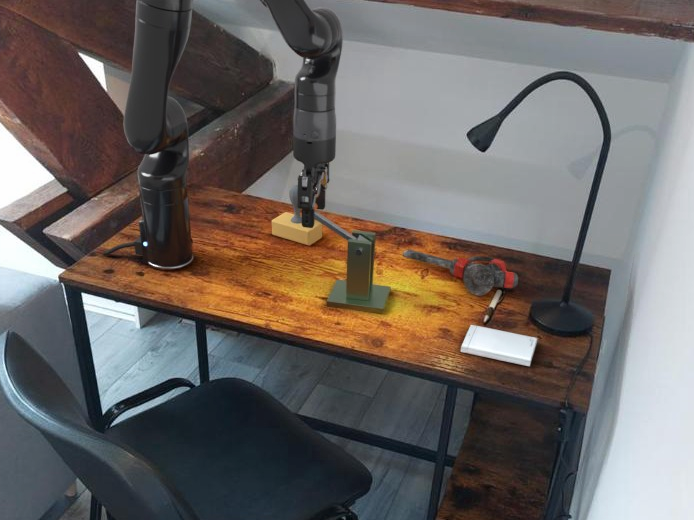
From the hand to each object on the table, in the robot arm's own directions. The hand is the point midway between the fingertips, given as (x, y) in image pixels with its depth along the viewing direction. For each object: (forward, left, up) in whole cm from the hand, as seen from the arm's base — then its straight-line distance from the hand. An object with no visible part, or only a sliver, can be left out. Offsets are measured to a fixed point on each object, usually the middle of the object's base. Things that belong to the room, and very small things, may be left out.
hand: (313, 217), depth 150 cm
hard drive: (+37, -11, -16) cm, 42 cm away
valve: (+28, +17, -16) cm, 37 cm away
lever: (+4, 0, -3) cm, 5 cm away
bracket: (+9, 0, -16) cm, 19 cm away
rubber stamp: (-10, +24, -16) cm, 31 cm away
